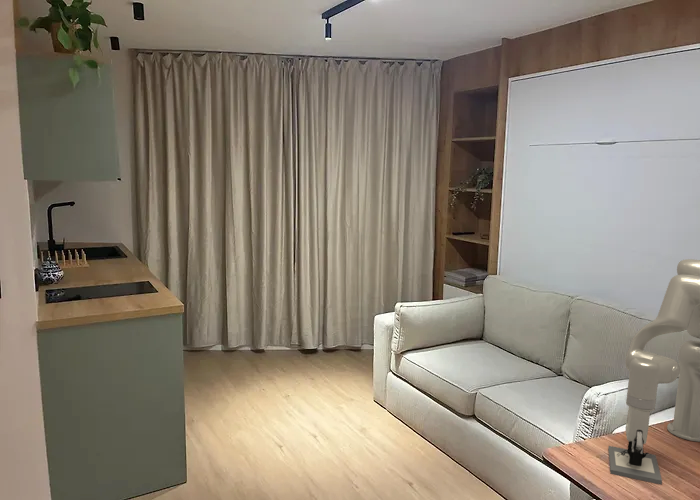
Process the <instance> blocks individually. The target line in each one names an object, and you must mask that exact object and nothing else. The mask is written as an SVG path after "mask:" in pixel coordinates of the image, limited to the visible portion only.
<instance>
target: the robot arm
mask: <svg viewBox="0 0 700 500" xmlns="http://www.w3.org/2000/svg"><path fill="white" fill-rule="evenodd" d="M676 273H677V275H676V274H675V275H674V276H673V277H671V278H670V279H669V282H668V285H667V288H666V291H665V293H664V297H663V299H662V302H661V305H660V308H659V310H658V314H657V316H656V318H655V319H654V320H652V321H650V322H648V323H647V324H645V325H644V326H643V327H641V329H639V330H638V331H637V332H636V333H635V335H634V336H633V337H632V339H631V340H630V344H629V348H628V350H627V352H626V355H625V359H624V360H625V361H624V364H625V367H626V369H627V371H628V373H629V374H628V385H627V391H626V400H625V404H626V406H627V407H628V409H627V410H628V411H627V416H626V417H627V418H626V423H625V436H626V440H627V441H628V443H627V449H628V450H630V449H631V447H629V446H632V450H630V452H629V451H627V452H629V453H630V458H629V464H632V465H635V466H641V465H642V457H643V451H644V445H646V444H647V440H648V432H649V427H650V426H649V425H650V417H651V412H653V411H655V410H656V404H657V403H656V402H657V394H658V387H659V385H663V384H670V383H673V382H675V381H676V380H677V379H678V380H677V381H678V383H677V390H676V397H675V407H674V412H673V421H672V422H669V423H668V424H666V425H667V427H666V428H667V430H668V432H669V433H670V434H672V435H674V436H675V437H677V438H681V439H683V440H687V441H691V442H696V443H697V442H698V443H699V442H700V341H699V340H700V259H695V258H694V259H692V258H690V259H689V258H688V259H682V260H680V261H678V263H677V267H676ZM684 331H687V334H688V335H689V336H691V337H693V338H695V339H699V340H686V341H683V342H682V343H681V344H680V346H679V348H678V354H677V355H678V362H677V360H675V359H673V358H671V357H667V356H664V355H661V354H658V353H654V352H650V351H646V350H645V347H646V346H647V344H648V343H649V342H650V340H652V339H655V338H657V337H659V336H662V335H666V334H672V333H680V332H681V333H682V332H684Z"/></svg>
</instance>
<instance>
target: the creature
mask: <svg viewBox="0 0 700 500" xmlns="http://www.w3.org/2000/svg"><path fill="white" fill-rule="evenodd" d="M629 447H631V449H630V450H632V446H629ZM630 450H625V451H629V452H630ZM625 451H622V452H623V453H622V452H620V453H621V454H620V455H623V456H624V455H625V453H627V452H625ZM624 452H625V453H624ZM629 452H628V454H629V456H630V453H629ZM644 453H645V454H644ZM618 454H619V453H618ZM618 454H617V455H618ZM646 454H650V453H649V452H644V450H643V457H642V459H643V458H645V456H646ZM618 456H619V455H618ZM618 456H617V457H618ZM625 456H626V455H625ZM629 456H628V457H629ZM627 464H628V463H627ZM631 465H632V464H631Z"/></svg>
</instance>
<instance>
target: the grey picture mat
mask: <svg viewBox="0 0 700 500" xmlns="http://www.w3.org/2000/svg"><path fill="white" fill-rule="evenodd" d="M625 450H628V448H623V447H622V448H621V447H617V446H613V445H608V448H607V451H608V461H609V462H608V463H609V473H610V474H611V475H615V476H620V477H624V478H630V479H632V480H633V479H635V480H639V481H641V482H642V481H643V482H648V483H653V484H656V485H661V486H662V483H663V479H662V475H661V471H660V467H659V464H658V463H659V462H658V459H657V456H656V454H654V453H653V454H652V453H649V454H646V456H645V458H643V459H642V465H641V466H635V465H631V464H629V458H630V456H629V454H628V452H627V451H625ZM622 451H625V452H627V453H625V452H624V453H625V455H626V456H625V455H624V456H623V455H620V454H621V453H620V452H622ZM618 453H619V454H618ZM622 453H623V452H622ZM645 453H646V452H644V454H645ZM617 454H618V455H619V456H618V455H617ZM617 456H618V457H617ZM628 456H629V457H628ZM627 463H628V464H627Z"/></svg>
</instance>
